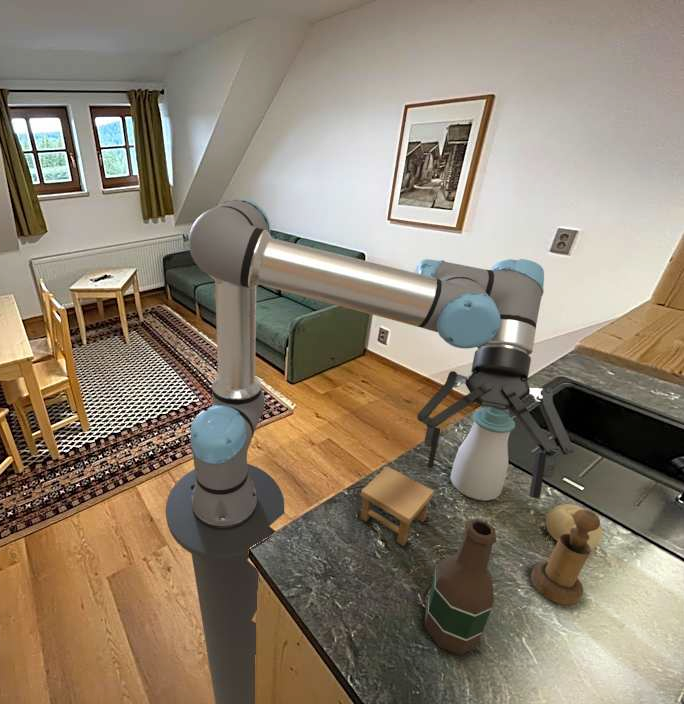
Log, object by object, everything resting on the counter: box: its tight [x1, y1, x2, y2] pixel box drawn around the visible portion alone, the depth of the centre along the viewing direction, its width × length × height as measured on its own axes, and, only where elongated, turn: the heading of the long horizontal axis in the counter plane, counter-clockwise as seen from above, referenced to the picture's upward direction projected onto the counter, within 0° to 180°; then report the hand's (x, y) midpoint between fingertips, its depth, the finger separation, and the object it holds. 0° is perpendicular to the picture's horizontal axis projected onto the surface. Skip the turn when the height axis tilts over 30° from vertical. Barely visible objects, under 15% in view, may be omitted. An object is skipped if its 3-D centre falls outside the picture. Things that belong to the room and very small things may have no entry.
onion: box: [544, 503, 603, 550], centre depth 75 cm, size 8×8×8 cm
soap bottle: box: [450, 406, 516, 502], centre depth 85 cm, size 10×10×23 cm
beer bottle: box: [424, 518, 497, 656], centre depth 59 cm, size 8×8×24 cm
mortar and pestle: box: [530, 508, 601, 607], centre depth 65 cm, size 7×6×18 cm
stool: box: [359, 465, 435, 547], centre depth 82 cm, size 10×10×8 cm
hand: (479, 482), depth 62 cm, fingers open, 13 cm apart
